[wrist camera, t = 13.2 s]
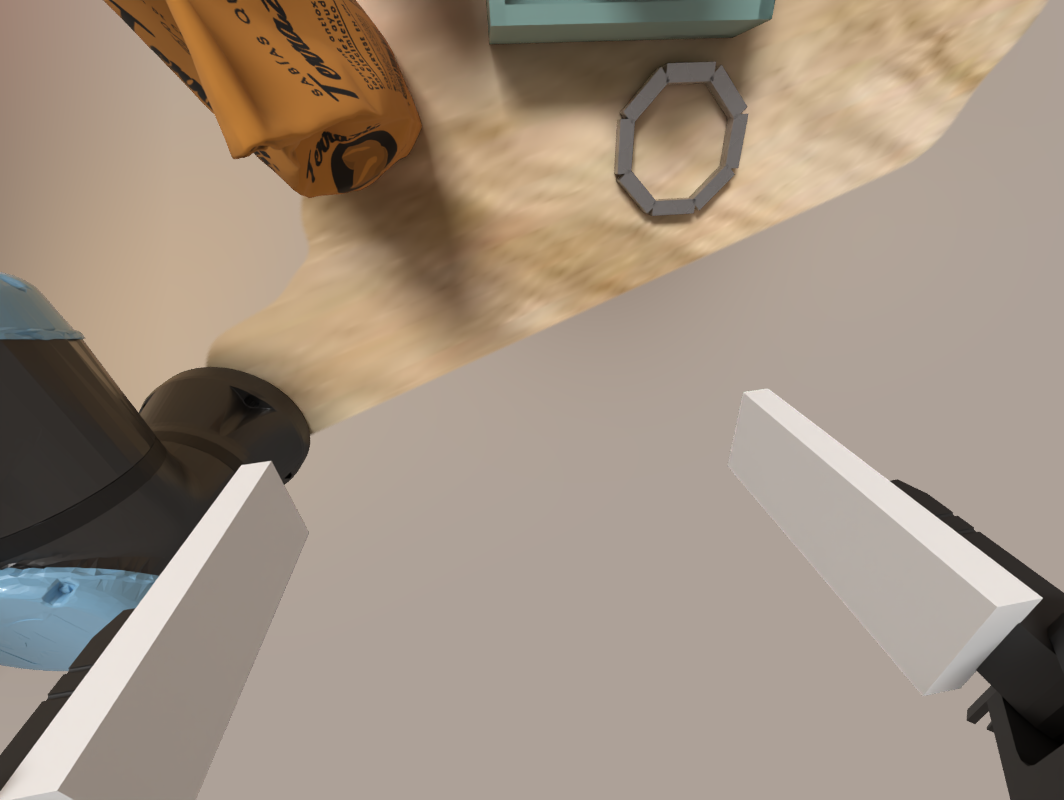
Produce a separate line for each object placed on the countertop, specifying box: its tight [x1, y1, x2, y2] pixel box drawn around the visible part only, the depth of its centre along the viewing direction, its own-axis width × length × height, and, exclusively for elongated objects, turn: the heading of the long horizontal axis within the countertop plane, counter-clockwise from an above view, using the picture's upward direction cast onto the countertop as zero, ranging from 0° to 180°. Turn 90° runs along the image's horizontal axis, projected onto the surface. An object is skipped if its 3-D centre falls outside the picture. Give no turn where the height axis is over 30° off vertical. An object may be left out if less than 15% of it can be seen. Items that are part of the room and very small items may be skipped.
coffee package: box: [104, 0, 422, 198], centre depth 22 cm, size 10×12×22 cm
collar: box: [614, 62, 748, 216], centre depth 35 cm, size 11×11×1 cm
